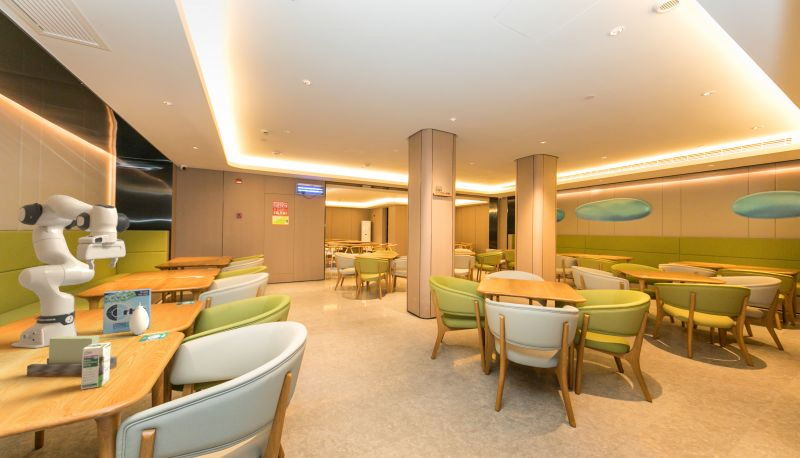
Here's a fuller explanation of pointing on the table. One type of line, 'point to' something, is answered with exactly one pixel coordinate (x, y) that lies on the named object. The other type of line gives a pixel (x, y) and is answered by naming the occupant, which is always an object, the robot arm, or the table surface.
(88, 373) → the syrup box
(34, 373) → the track
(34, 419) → the table surface
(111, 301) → the gum box
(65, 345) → the door panel
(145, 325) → the white air blower bulb
